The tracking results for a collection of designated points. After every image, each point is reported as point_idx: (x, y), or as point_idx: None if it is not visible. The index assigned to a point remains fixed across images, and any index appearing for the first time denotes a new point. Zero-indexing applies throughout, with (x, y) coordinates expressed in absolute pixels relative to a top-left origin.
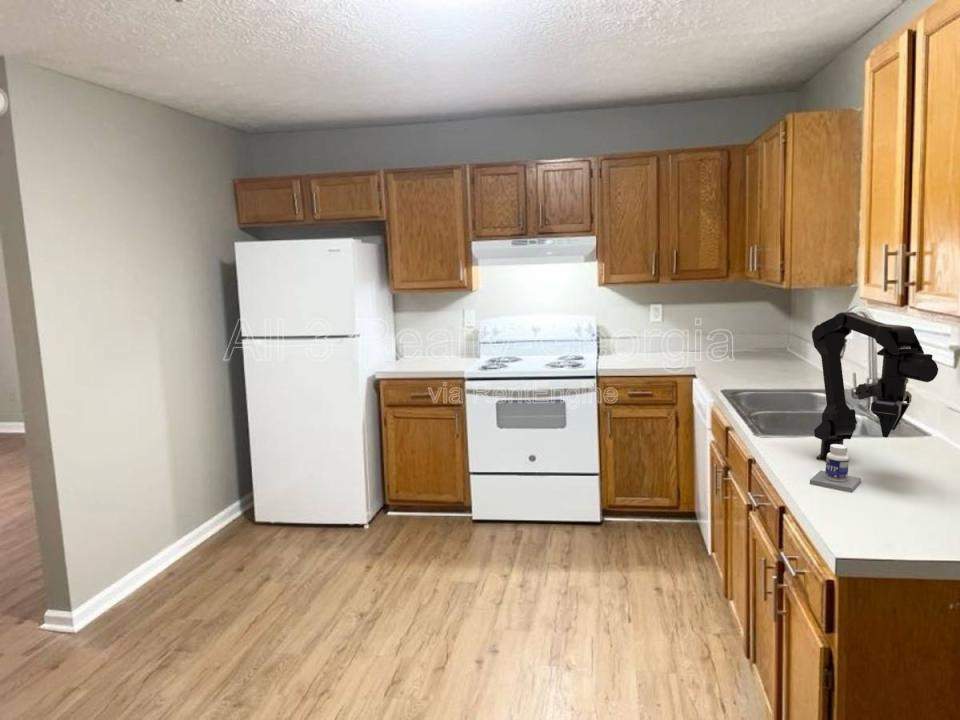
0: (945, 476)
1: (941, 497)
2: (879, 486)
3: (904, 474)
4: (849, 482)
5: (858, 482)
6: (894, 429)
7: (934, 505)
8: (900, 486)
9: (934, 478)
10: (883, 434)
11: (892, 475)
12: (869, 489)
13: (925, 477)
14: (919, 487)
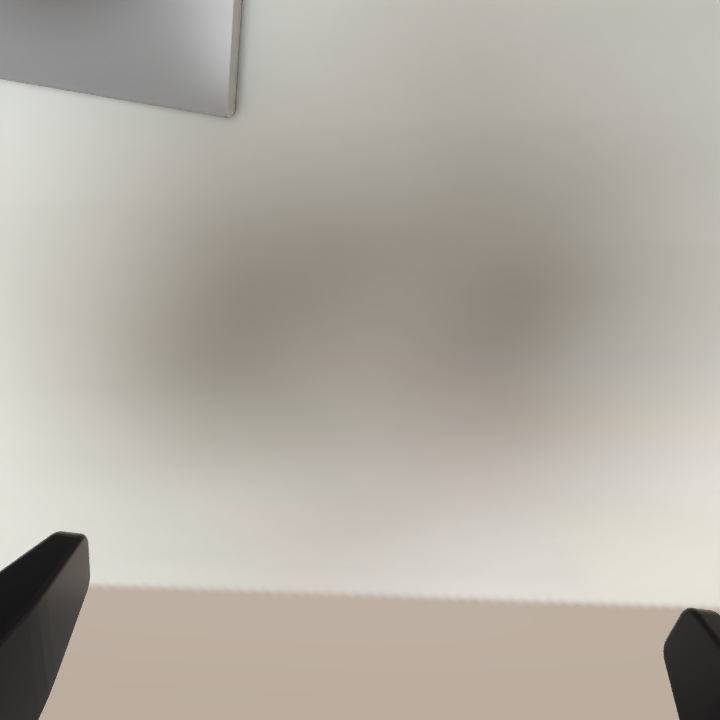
0: (661, 583)
1: (218, 555)
2: (217, 252)
3: (621, 398)
4: (4, 16)
5: (120, 97)
6: (667, 661)
7: (41, 524)
8: (306, 377)
9: (593, 539)
10: (16, 573)
11: (562, 329)
12: (86, 186)
13: (596, 501)
14: (350, 470)
